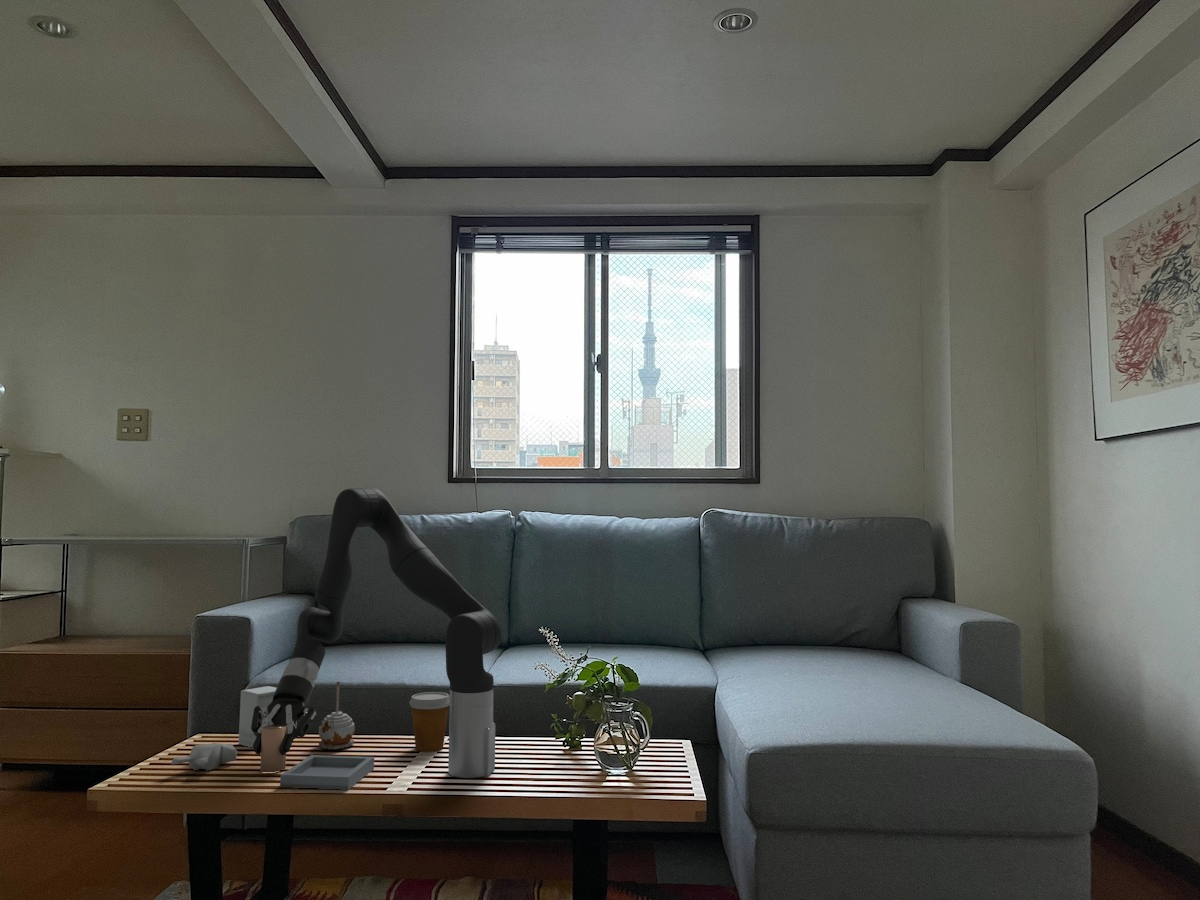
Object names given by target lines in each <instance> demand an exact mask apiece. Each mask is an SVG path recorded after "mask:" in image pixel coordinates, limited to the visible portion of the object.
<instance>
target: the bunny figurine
mask: <svg viewBox="0 0 1200 900" xmlns="http://www.w3.org/2000/svg"><path fill="white" fill-rule="evenodd" d="M237 755H238V750H237V749H236V747H234V744H232V743H219V742H218V743H217V742H214V743H213V742H212V743H210V744H209V743H201V744H200V743H199V744H196V745H194V746H192V748H191V751H190V753H189V755H188V756H177V757H173V758H172V760H171V763H170V765H178V764H183V763H184V764H185V763H188V765H189V768H190V769H193V771H195V770H198V771H200V770H205V771H206V772H209V771H208V770H210V771H212V770H216V769H218V768H219V767H220V765H223V764H228V763H230V762H233V761H234V762H235V761H236V760H237ZM227 762H228V763H227ZM218 766H219V767H218ZM217 767H218V768H217Z"/></svg>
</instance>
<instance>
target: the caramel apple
mask: <svg viewBox="0 0 1200 900" xmlns="http://www.w3.org/2000/svg"><path fill="white" fill-rule="evenodd" d="M335 696H336V697H335V698H336V699H335V700H336V701H335V703H336V704H335V711H333V712H331V714H326V717H324V718H323V720H322V721H321V725H319V726H318V727H319V728H318V736H319V737H320V739H321V740H320V742H318V747H319V748H322V749H327V748H328V749H327V750H333V749H334V750H339V748H343V749H345V748H348V747H351V746H353V744H355V740H354V739H353V735H355V731H356V726H355V723H354V722H353V719H352V717H350V715H348V714H347V713H343V711H342V710H339V709H340V681H339V680H337V681H336V695H335ZM319 737H318V738H319ZM344 747H345V748H344Z"/></svg>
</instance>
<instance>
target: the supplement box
mask: <svg viewBox="0 0 1200 900" xmlns="http://www.w3.org/2000/svg"><path fill="white" fill-rule="evenodd" d="M276 688H277V686H269V685H267V686H261V687H254V688H247V689H242V690H240V700H239V701H240V705H239V724H238V725H239V727H238V745H241V746H245V747H247V746H248V747H247V748H250V747H252V748H251V749H253V744H254V742H255V739H256V737H257V736H255V735H254V733H253V731H252V730H251V725H252V719H253V713H254V708H255V707H256V706H259V707H260V708H264V707H268V705H269V704H270V703H271V702H272V700H273V696H274V693H275V691H276ZM268 715H269V714H268V713H267V714H266V715H265V718H264V719H262V725H263V723H264V720H265V719H266V718H267V716H268ZM271 723H272V721H271ZM262 725H261V726H262Z"/></svg>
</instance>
